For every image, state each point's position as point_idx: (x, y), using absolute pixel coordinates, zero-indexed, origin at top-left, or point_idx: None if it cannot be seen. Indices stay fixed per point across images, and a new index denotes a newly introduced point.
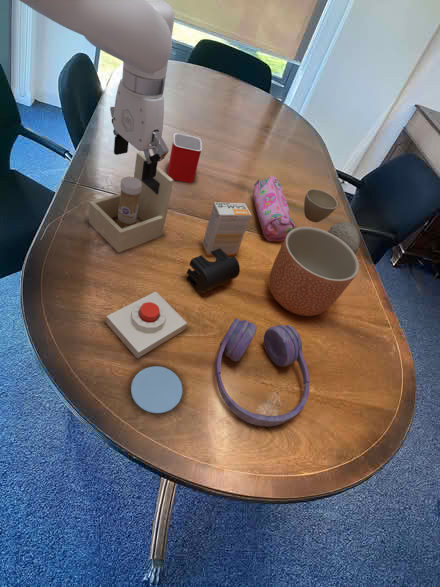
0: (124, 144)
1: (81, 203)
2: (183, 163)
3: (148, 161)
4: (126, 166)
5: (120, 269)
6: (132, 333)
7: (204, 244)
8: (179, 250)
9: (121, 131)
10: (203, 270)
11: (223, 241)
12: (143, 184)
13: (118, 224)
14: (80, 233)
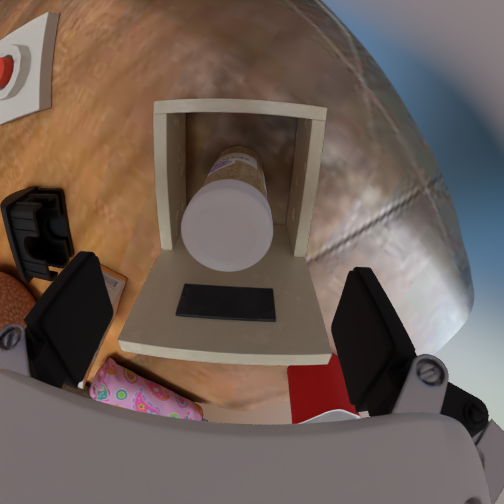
0: (350, 351)
1: (375, 144)
2: (309, 389)
3: (15, 336)
4: (398, 307)
5: (131, 78)
6: (12, 41)
7: (113, 278)
8: (125, 229)
9: (293, 500)
10: (4, 209)
11: None
12: (262, 284)
13: (244, 150)
14: (284, 65)
